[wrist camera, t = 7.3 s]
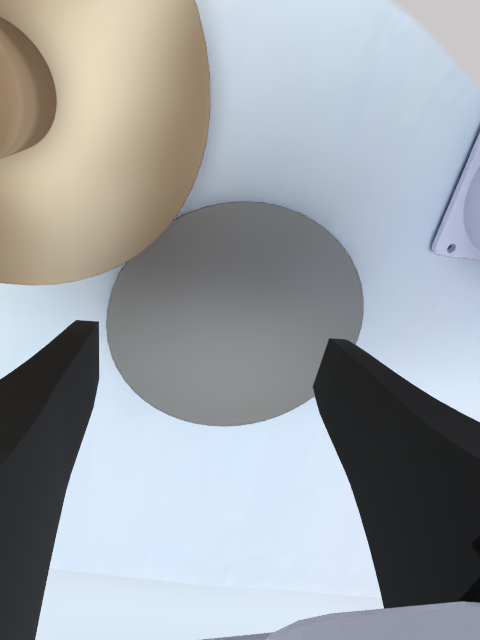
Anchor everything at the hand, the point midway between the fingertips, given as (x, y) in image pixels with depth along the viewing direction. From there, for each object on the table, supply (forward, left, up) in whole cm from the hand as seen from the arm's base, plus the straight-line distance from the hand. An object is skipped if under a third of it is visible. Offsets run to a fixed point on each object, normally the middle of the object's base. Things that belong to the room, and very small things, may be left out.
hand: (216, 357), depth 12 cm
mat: (-3, +5, -9) cm, 11 cm away
